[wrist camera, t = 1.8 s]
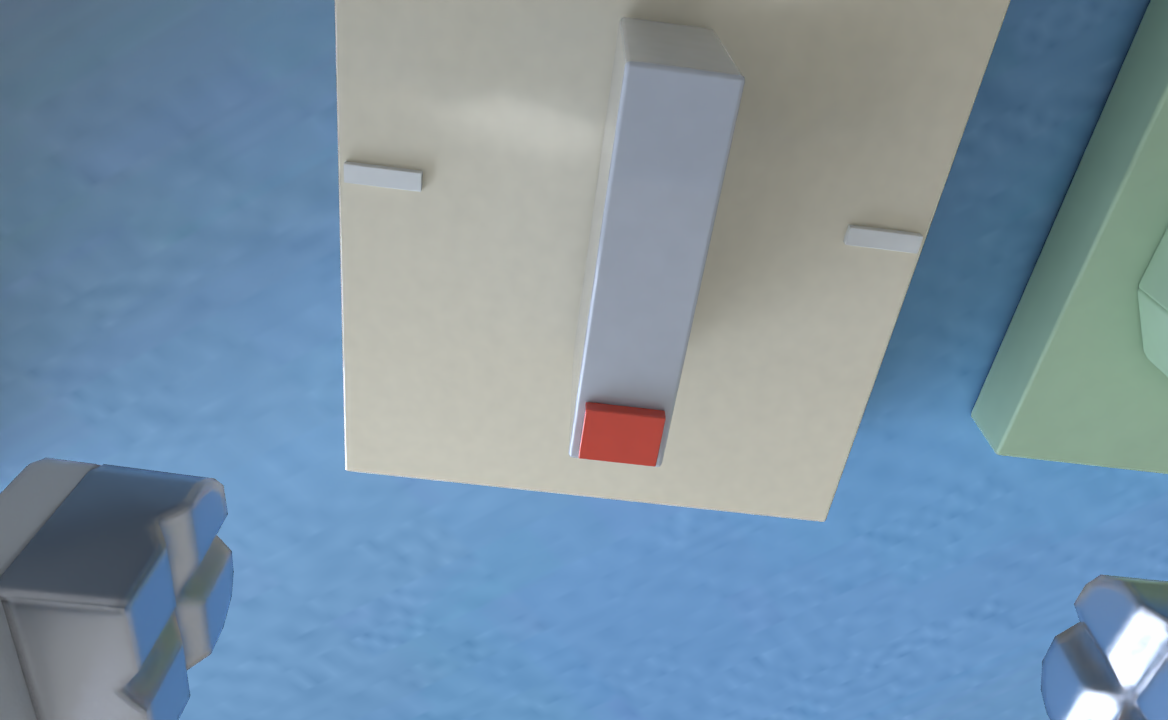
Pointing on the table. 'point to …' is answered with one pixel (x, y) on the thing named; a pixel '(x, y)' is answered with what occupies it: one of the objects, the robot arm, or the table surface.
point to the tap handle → (649, 235)
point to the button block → (1098, 294)
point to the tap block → (563, 221)
